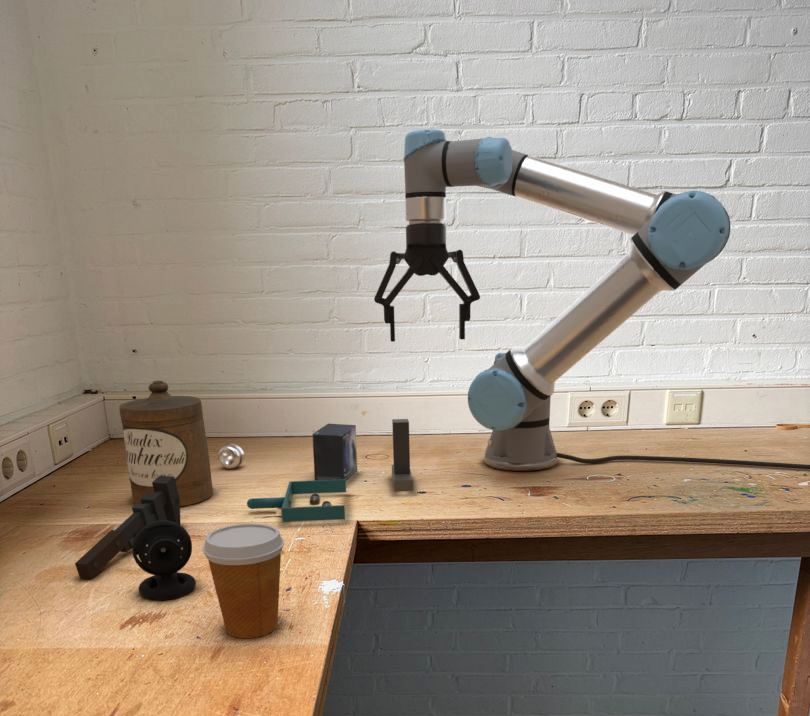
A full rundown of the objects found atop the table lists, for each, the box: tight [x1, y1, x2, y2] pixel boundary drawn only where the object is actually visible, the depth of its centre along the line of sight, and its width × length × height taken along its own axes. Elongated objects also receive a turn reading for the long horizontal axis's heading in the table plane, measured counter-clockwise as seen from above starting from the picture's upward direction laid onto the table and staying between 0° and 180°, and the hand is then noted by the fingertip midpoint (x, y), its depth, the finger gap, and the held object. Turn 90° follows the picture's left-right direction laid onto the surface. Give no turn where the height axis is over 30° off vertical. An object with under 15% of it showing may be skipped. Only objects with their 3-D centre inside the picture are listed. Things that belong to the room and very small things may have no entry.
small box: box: [312, 423, 358, 482], centre depth 159 cm, size 11×6×10 cm, turn 168°
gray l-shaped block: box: [391, 418, 414, 493], centre depth 153 cm, size 4×12×13 cm, turn 3°
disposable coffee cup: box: [201, 522, 285, 639], centre depth 96 cm, size 10×10×12 cm
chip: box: [309, 493, 321, 506], centre depth 144 cm, size 2×4×2 cm
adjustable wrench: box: [74, 476, 182, 580], centre depth 125 cm, size 8×3×25 cm
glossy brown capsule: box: [321, 500, 333, 506], centre depth 140 cm, size 2×4×2 cm, turn 3°
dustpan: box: [246, 479, 347, 523], centre depth 142 cm, size 17×17×3 cm
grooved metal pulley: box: [217, 443, 245, 470], centre depth 172 cm, size 5×3×5 cm, turn 71°
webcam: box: [131, 520, 197, 601], centre depth 108 cm, size 8×8×10 cm
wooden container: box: [118, 380, 214, 507], centre depth 149 cm, size 15×15×22 cm
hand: (427, 340), depth 156 cm, fingers open, 13 cm apart
